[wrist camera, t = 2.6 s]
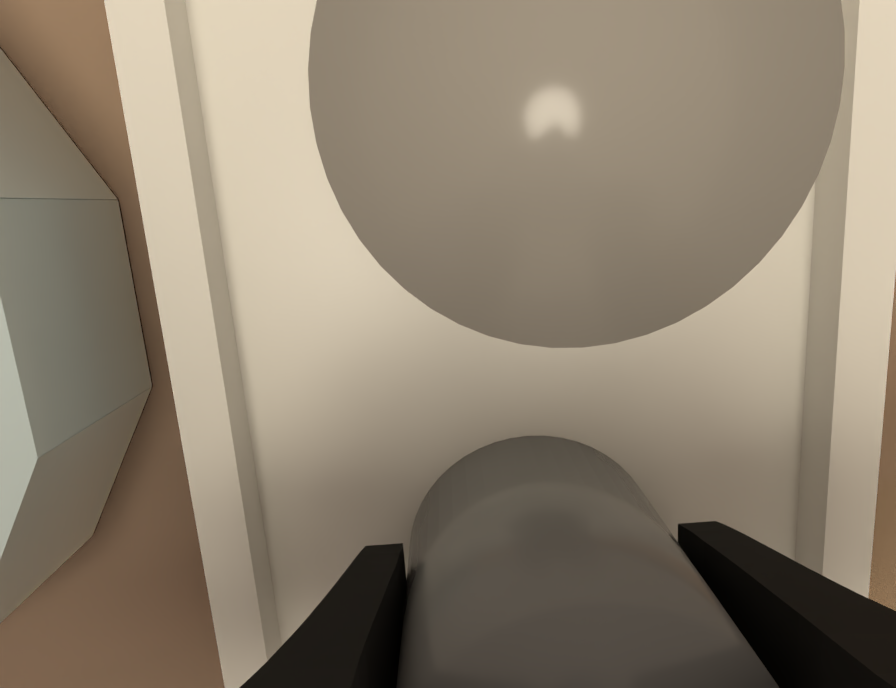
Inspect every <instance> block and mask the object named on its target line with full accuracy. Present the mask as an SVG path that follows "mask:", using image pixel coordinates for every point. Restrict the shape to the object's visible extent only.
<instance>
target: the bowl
mask: <svg viewBox="0 0 896 688" xmlns="http://www.w3.org/2000/svg"><path fill="white" fill-rule="evenodd" d="M151 386H152V383H151V378H150V372H149V367H148V361H147V356H146V350H145V345H144V339H143V334H142V328H141V323H140V317H139V312H138V306H137V301H136V296H135V290H134V285H133V279H132V274H131V268H130V263H129V257H128V252H127V246H126V241H125V235H124V230H123V224H122V219H121V213H120V208H119V202H118V199H117V198H116V197H115V195H114V194H113V193H112V191H111V190H110V189H109V188H108V186H107V185H106V184H105V182H104V181H103V180H102V179H101V177H100V176H99V175H98V173H97V172H96V171H95V170H94V168H93V167H92V166H91V164H90V163H89V162H88V161H87V159H86V158H85V157H84V155H83V154H82V153H81V151H80V150H79V149H78V148H77V146H76V145H75V144H74V142H73V141H72V140H71V139H70V137H69V136H68V135H67V133H66V132H65V131H64V130H63V128H62V127H61V126H60V124H59V123H58V122H57V121H56V119H55V118H54V117H53V115H52V114H51V113H50V112H49V110H48V109H47V108H46V106H45V105H44V104H43V103H42V101H41V100H40V99H39V97H38V96H37V95H36V93H35V92H34V91H33V90H32V88H31V87H30V86H29V84H28V83H27V82H26V81H25V79H24V78H23V77H22V75H21V74H20V73H19V72H18V70H17V69H16V68H15V66H14V65H13V64H12V63H11V61H10V60H9V59H8V57H7V56H6V55H5V54H4V52H3V51H2V50H1V48H0V623H1V622H2V621H3V620H4V619H5V618H6V617H7V616H8V615H10V614H11V613H12V612H13V611H14V610H15V609H16V608H17V607H18V606H19V605H20V604H21V603H22V602H23V601H24V600H25V599H26V598H27V597H29V596H30V595H31V594H32V593H33V592H34V591H35V590H36V589H37V588H38V587H39V586H40V585H41V584H42V583H43V582H44V581H45V580H46V579H48V578H49V577H50V576H51V575H52V574H53V573H54V572H55V571H56V570H57V569H58V568H59V567H60V566H61V565H62V564H63V563H64V562H65V561H66V560H68V559H69V558H70V557H71V556H72V555H73V554H74V553H75V552H76V551H77V550H78V549H79V548H80V547H81V546H82V545H83V544H84V543H85V542H87V541H88V540H89V539H90V538H91V537H92V536H93V533H94V531H95V528H96V526H97V523H98V521H99V518H100V516H101V513H102V511H103V508H104V506H105V503H106V501H107V498H108V496H109V493H110V491H111V488H112V486H113V483H114V481H115V478H116V476H117V473H118V471H119V468H120V466H121V463H122V461H123V458H124V456H125V453H126V451H127V448H128V446H129V443H130V441H131V438H132V436H133V433H134V431H135V428H136V426H137V423H138V421H139V418H140V416H141V413H142V410H143V408H144V405H145V403H146V400H147V398H148V395H149V393H150V390H151V388H152V387H151Z"/></svg>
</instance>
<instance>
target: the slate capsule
mask: <svg viewBox="0 0 896 688" xmlns="http://www.w3.org/2000/svg"><path fill="white" fill-rule="evenodd" d="M396 688H779V686H778V685H777V683H776V682H775V680H774V679H773V677H772V676H771V675H770V673H769V672H768V670H767V669H766V667H765V666H764V665H763V663H762V662H761V660H760V659H759V657H758V656H757V655H756V653H755V652H754V650H753V649H752V647H751V646H750V645H749V643H748V642H747V640H746V639H745V637H744V636H743V635H742V633H741V632H740V630H739V629H738V627H737V626H736V625H735V623H734V622H733V620H732V619H731V617H730V616H729V615H728V613H727V612H726V610H725V609H724V608H723V606H722V605H721V603H720V602H719V600H718V599H717V598H716V596H715V595H714V593H713V592H712V590H711V589H710V588H709V586H708V585H707V583H706V582H705V580H704V579H703V578H702V576H701V575H700V573H699V572H698V570H697V569H696V568H695V566H694V565H693V563H692V562H691V560H690V559H689V558H688V556H687V555H686V553H685V552H684V550H683V549H682V548H681V546H680V545H679V543H678V542H677V540H676V539H675V538H674V536H673V535H672V533H671V532H670V530H669V529H668V528H667V526H666V525H665V523H664V522H663V520H662V519H661V518H660V516H659V515H658V513H657V512H656V510H655V509H654V508H653V506H652V505H651V503H650V502H649V500H648V499H647V498H646V496H645V495H644V493H643V492H642V490H641V489H640V488H639V486H638V485H637V484H636V482H635V481H634V480H633V479H632V477H631V476H630V475H629V474H628V473H627V472H626V471H625V470H624V469H623V468H622V467H621V466H620V465H619V464H618V463H616V462H615V461H614V460H612V459H611V458H610V457H608V456H607V455H605V454H603V453H602V452H600V451H598V450H596V449H594V448H592V447H590V446H587V445H585V444H582V443H580V442H577V441H573V440H569V439H565V438H561V437H552V436H522V437H515V438H509V439H505V440H501V441H497V442H494V443H491V444H489V445H486V446H484V447H481V448H479V449H477V450H475V451H473V452H472V453H470V454H468V455H466V456H464V457H463V458H462V459H460V460H459V461H457V462H456V463H455V464H453V465H452V466H451V467H450V468H449V469H448V470H446V471H445V472H444V473H443V474H442V475H441V476H440V477H439V478H438V480H437V481H436V482H435V483H434V485H433V486H432V487H431V488H430V489H429V491H428V493H427V494H426V496H425V498H424V499H423V501H422V503H421V505H420V507H419V509H418V512H417V514H416V516H415V520H414V523H413V527H412V531H411V538H410V546H409V557H408V568H407V578H406V590H405V601H404V612H403V622H402V632H401V642H400V653H399V664H398V675H397V685H396Z"/></svg>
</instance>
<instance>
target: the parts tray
mask: <svg viewBox="0 0 896 688" xmlns="http://www.w3.org/2000/svg"><path fill="white" fill-rule="evenodd" d="M316 2H317V0H104V3H105V8H106V14H107V20H108V25H109V31H110V37H111V42H112V48H113V54H114V60H115V65H116V71H117V77H118V82H119V88H120V94H121V99H122V105H123V111H124V117H125V122H126V128H127V134H128V139H129V145H130V151H131V156H132V162H133V168H134V174H135V179H136V185H137V191H138V196H139V202H140V208H141V213H142V219H143V225H144V230H145V236H146V242H147V248H148V253H149V259H150V265H151V270H152V276H153V282H154V287H155V293H156V299H157V305H158V310H159V316H160V322H161V327H162V333H163V339H164V344H165V350H166V356H167V362H168V367H169V373H170V379H171V384H172V390H173V396H174V401H175V407H176V413H177V419H178V424H179V430H180V436H181V441H182V447H183V453H184V458H185V464H186V470H187V476H188V481H189V487H190V493H191V498H192V504H193V510H194V515H195V521H196V527H197V533H198V538H199V544H200V550H201V555H202V561H203V567H204V572H205V578H206V584H207V590H208V595H209V601H210V607H211V612H212V618H213V624H214V629H215V635H216V641H217V647H218V652H219V658H220V664H221V669H222V675H223V681H224V686H225V688H239V687H241V686H242V685H243V684H244V683H245V682H246V681H247V680H248V679H249V678H250V677H251V676H252V675H254V674H255V673H256V672H257V671H258V670H259V669H260V668H261V667H262V666H263V665H264V664H265V663H266V662H267V661H268V660H269V659H270V658H271V657H272V656H273V654H274V653H275V652H276V651H277V650H278V649H279V648H280V647H281V646H282V645H283V644H284V643H285V642H286V641H287V640H288V639H289V637H290V636H291V635H292V634H293V633H294V632H295V631H296V630H297V629H298V628H299V627H300V625H301V624H302V623H303V622H304V621H305V620H306V619H307V617H308V616H309V615H310V614H311V613H312V611H313V610H314V609H315V608H316V607H317V605H318V604H319V603H320V602H321V601H322V599H323V598H324V597H325V596H326V595H327V593H328V592H329V591H330V590H331V588H332V587H333V586H334V585H335V583H336V582H337V581H338V580H339V578H340V577H341V576H342V574H343V573H344V572H345V571H346V569H347V568H348V567H349V565H350V564H351V563H352V561H353V560H354V559H355V558H356V556H357V555H358V554H359V553H360V551H361V550H362V549H363V548H364V547H365V546H370V545H384V544H398V543H403V550H404V560H405V570H406V578H407V568H408V557H409V546H410V538H411V531H412V527H413V523H414V520H415V516H416V514H417V512H418V509H419V507H420V505H421V503H422V501H423V499H424V498H425V496H426V494H427V493H428V491H429V489H430V488H431V487H432V486H433V485H434V483H435V482H436V481H437V480H438V478H439V477H440V476H441V475H442V474H443V473H444V472H445V471H446V470H448V469H449V468H450V467H451V466H452V465H453V464H455V463H456V462H457V461H459V460H460V459H462V458H463V457H464V456H466V455H468V454H470V453H472V452H473V451H475V450H477V449H479V448H481V447H484V446H486V445H489V444H491V443H494V442H497V441H501V440H505V439H509V438H515V437H522V436H552V437H561V438H565V439H569V440H573V441H577V442H580V443H582V444H585V445H587V446H590V447H592V448H594V449H596V450H598V451H600V452H602V453H603V454H605V455H607V456H608V457H610V458H611V459H612V460H614V461H615V462H616V463H618V464H619V465H620V466H621V467H622V468H623V469H624V470H625V471H626V472H627V473H628V474H629V475H630V476H631V477H632V479H633V480H634V481H635V482H636V484H637V485H638V486H639V488H640V489H641V490H642V492H643V493H644V495H645V496H646V498H647V499H648V500H649V502H650V503H651V505H652V506H653V508H654V509H655V510H656V512H657V513H658V515H659V516H660V518H661V519H662V520H663V522H664V523H665V525H666V526H667V528H668V529H669V530H670V532H671V533H672V535H673V536H674V538H675V539H676V540H677V542H678V524H680V523H694V522H708V521H717V522H720V523H722V524H724V525H727V526H729V527H731V528H733V529H735V530H737V531H739V532H741V533H743V534H745V535H747V536H749V537H751V538H753V539H755V540H757V541H758V542H760V543H762V544H764V545H766V546H768V547H770V548H772V549H773V550H775V551H777V552H779V553H781V554H783V555H785V556H787V557H788V558H790V559H792V560H794V561H796V562H798V563H800V564H802V565H803V566H805V567H807V568H809V569H811V570H813V571H815V572H817V573H819V574H821V575H823V576H824V577H826V578H828V579H830V580H832V581H834V582H836V583H838V584H840V585H842V586H844V587H846V588H848V589H850V590H852V591H854V592H856V593H858V594H860V595H862V596H864V597H866V598H868V596H869V584H870V572H871V560H872V548H873V536H874V524H875V512H876V500H877V488H878V476H879V464H880V452H881V440H882V428H883V416H884V404H885V392H886V380H887V368H888V356H889V344H890V332H891V320H892V309H893V297H894V285H895V273H896V0H841V4H842V12H843V20H844V28H845V68H844V76H843V85H842V93H841V101H840V107H839V111H838V115H837V119H836V123H835V127H834V131H833V135H832V139H831V142H830V145H829V148H828V150H827V153H826V156H825V158H824V161H823V164H822V166H821V169H820V172H819V174H818V176H817V178H816V180H815V182H814V184H813V186H812V188H811V190H810V192H809V194H808V196H807V198H806V200H805V202H804V204H803V206H802V207H801V209H800V210H799V212H798V213H797V215H796V216H795V218H794V219H793V221H792V222H791V224H790V225H789V227H788V228H787V230H786V231H785V233H784V234H783V236H782V237H781V238H780V239H779V240H778V242H777V243H776V244H775V245H774V246H773V247H772V249H771V250H770V251H769V252H768V253H767V254H766V256H765V257H764V258H763V259H762V260H761V261H760V263H759V264H758V265H756V266H755V267H754V268H753V269H752V270H751V271H750V272H749V273H748V274H747V275H746V276H745V277H743V278H742V279H741V280H740V281H739V282H738V283H737V284H736V285H735V286H734V287H732V288H731V289H730V290H728V291H727V292H725V293H724V294H723V295H721V296H720V297H719V298H717V299H716V300H714V301H713V302H712V303H710V304H709V305H707V306H706V307H704V308H702V309H701V310H699V311H697V312H695V313H693V314H692V315H690V316H688V317H686V318H684V319H683V320H681V321H679V322H677V323H675V324H672V325H670V326H667V327H665V328H662V329H660V330H657V331H655V332H652V333H650V334H648V335H644V336H640V337H637V338H633V339H629V340H625V341H622V342H618V343H613V344H606V345H599V346H591V347H584V348H548V347H540V346H532V345H523V344H517V343H514V342H510V341H506V340H502V339H498V338H494V337H490V336H487V335H484V334H482V333H479V332H477V331H474V330H472V329H469V328H467V327H464V326H462V325H459V324H457V323H456V322H454V321H452V320H450V319H449V318H447V317H445V316H443V315H441V314H440V313H438V312H436V311H434V310H432V309H431V308H429V307H428V306H427V305H425V304H424V303H423V302H421V301H420V300H418V299H417V298H416V297H414V296H413V295H412V294H410V293H409V292H408V291H406V290H405V289H404V288H403V287H402V286H401V285H400V284H399V283H398V282H397V281H396V280H395V279H393V278H392V277H391V276H390V275H389V274H388V273H387V272H386V271H385V270H384V269H383V268H382V267H381V266H380V265H379V263H378V262H377V261H376V260H375V258H374V257H373V256H372V255H371V253H370V252H369V251H368V250H367V248H366V247H365V246H364V245H363V243H362V242H361V241H360V240H359V238H358V237H357V235H356V233H355V232H354V230H353V228H352V227H351V225H350V223H349V222H348V220H347V219H346V217H345V215H344V214H343V212H342V210H341V208H340V206H339V204H338V202H337V199H336V197H335V195H334V193H333V190H332V188H331V186H330V184H329V182H328V179H327V177H326V173H325V170H324V167H323V164H322V160H321V157H320V154H319V151H318V147H317V144H316V139H315V133H314V128H313V122H312V116H311V111H310V99H309V80H308V62H309V48H310V34H311V28H312V23H313V17H314V12H315V7H316Z"/></svg>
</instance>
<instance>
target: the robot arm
mask: <svg viewBox="0 0 896 688" xmlns="http://www.w3.org/2000/svg"><path fill="white" fill-rule="evenodd" d="M678 543H679V545H680V546H681V548H682V549H683V550H684V552H685V553H686V555H687V556H688V558H689V559H690V560H691V562H692V563H693V565H694V566H695V568H696V569H697V570H698V572H699V573H700V575H701V576H702V578H703V579H704V580H705V582H706V583H707V585H708V586H709V588H710V589H711V590H712V592H713V593H714V595H715V596H716V598H717V599H718V600H719V602H720V603H721V605H722V606H723V608H724V609H725V610H726V612H727V613H728V615H729V616H730V617H731V619H732V620H733V622H734V623H735V625H736V626H737V627H738V629H739V630H740V632H741V633H742V635H743V636H744V637H745V639H746V640H747V642H748V643H749V645H750V646H751V647H752V649H753V650H754V652H755V653H756V655H757V656H758V657H759V659H760V660H761V662H762V663H763V665H764V666H765V667H766V669H767V670H768V672H769V673H770V675H771V676H772V677H773V679H774V680H775V682H776V683H777V685H778V686H779V688H896V611H894V610H892V609H890V608H888V607H885V606H883V605H881V604H879V603H877V602H875V601H873V600H870V599H868V598H866V597H864V596H862V595H860V594H858V593H856V592H854V591H852V590H850V589H848V588H846V587H844V586H842V585H840V584H838V583H836V582H834V581H832V580H830V579H828V578H826V577H824V576H823V575H821V574H819V573H817V572H815V571H813V570H811V569H809V568H807V567H805V566H803V565H802V564H800V563H798V562H796V561H794V560H792V559H790V558H788V557H787V556H785V555H783V554H781V553H779V552H777V551H775V550H773V549H772V548H770V547H768V546H766V545H764V544H762V543H760V542H758V541H757V540H755V539H753V538H751V537H749V536H747V535H745V534H743V533H741V532H739V531H737V530H735V529H733V528H731V527H729V526H727V525H724V524H722V523H720V522H717V521H708V522H694V523H680V524H678ZM405 590H406V570H405V560H404V550H403V543H398V544H384V545H370V546H365V547H364V548H363V549H362V550H361V551H360V553H359V554H358V555H357V556H356V558H355V559H354V560H353V561H352V563H351V564H350V565H349V567H348V568H347V569H346V571H345V572H344V573H343V574H342V576H341V577H340V578H339V580H338V581H337V582H336V583H335V585H334V586H333V587H332V588H331V590H330V591H329V592H328V593H327V595H326V596H325V597H324V598H323V599H322V601H321V602H320V603H319V604H318V605H317V607H316V608H315V609H314V610H313V611H312V613H311V614H310V615H309V616H308V617H307V619H306V620H305V621H304V622H303V623H302V624H301V625H300V627H299V628H298V629H297V630H296V631H295V632H294V633H293V634H292V635H291V636H290V637H289V639H288V640H287V641H286V642H285V643H284V644H283V645H282V646H281V647H280V648H279V649H278V650H277V651H276V652H275V653H274V654H273V656H272V657H271V658H270V659H269V660H268V661H267V662H266V663H265V664H264V665H263V666H262V667H261V668H260V669H259V670H258V671H257V672H256V673H255V674H254V675H252V676H251V677H250V678H249V679H248V680H247V681H246V682H245V683H244V684H243V685H242V686H241V687H239V688H396V685H397V675H398V664H399V653H400V642H401V632H402V622H403V612H404V601H405Z"/></svg>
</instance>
